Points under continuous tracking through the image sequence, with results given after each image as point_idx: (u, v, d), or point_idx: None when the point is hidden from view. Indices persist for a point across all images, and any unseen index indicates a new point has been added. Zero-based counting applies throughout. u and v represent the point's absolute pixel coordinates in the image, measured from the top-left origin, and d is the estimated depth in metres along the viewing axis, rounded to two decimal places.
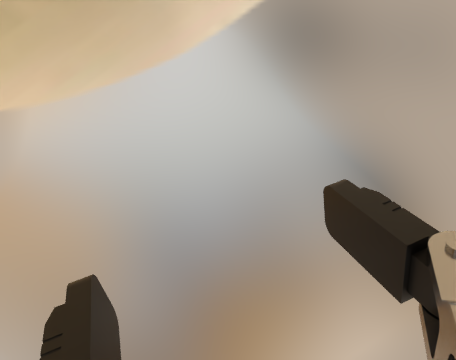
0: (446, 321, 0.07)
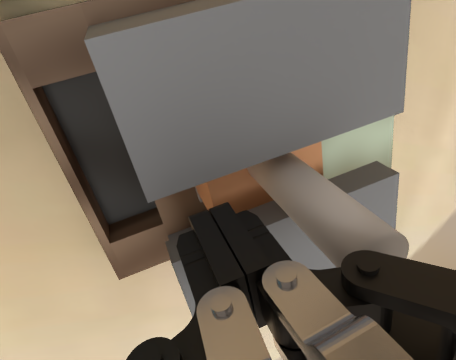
0: None
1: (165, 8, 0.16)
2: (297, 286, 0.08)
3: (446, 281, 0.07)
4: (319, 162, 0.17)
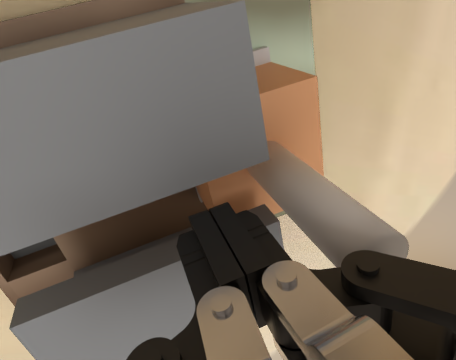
0: None
1: (27, 42, 0.15)
2: (297, 286, 0.08)
3: (446, 280, 0.07)
4: (319, 162, 0.17)
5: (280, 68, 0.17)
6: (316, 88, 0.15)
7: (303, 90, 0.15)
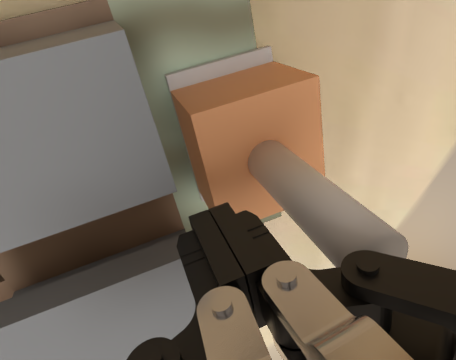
0: None
1: None
2: (297, 286, 0.08)
3: (445, 280, 0.07)
4: (320, 162, 0.17)
5: (282, 68, 0.17)
6: (318, 88, 0.15)
7: (305, 90, 0.15)
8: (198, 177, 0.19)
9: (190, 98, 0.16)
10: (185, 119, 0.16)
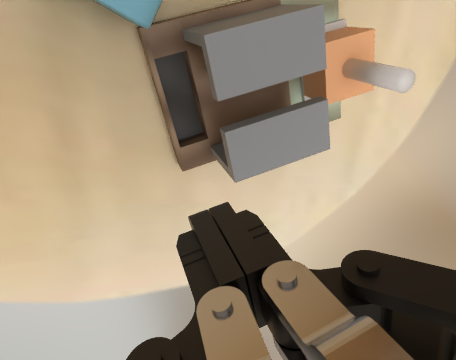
0: None
1: (218, 21, 0.34)
2: (297, 286, 0.08)
3: (446, 281, 0.07)
4: None
5: (354, 28, 0.37)
6: (374, 34, 0.35)
7: (368, 35, 0.35)
8: (310, 83, 0.38)
9: None
10: None
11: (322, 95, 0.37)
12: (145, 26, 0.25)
